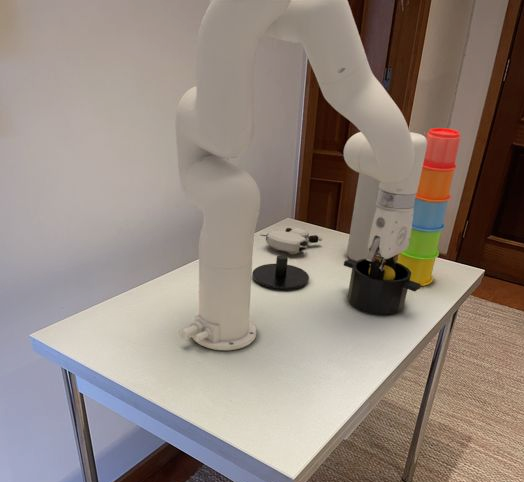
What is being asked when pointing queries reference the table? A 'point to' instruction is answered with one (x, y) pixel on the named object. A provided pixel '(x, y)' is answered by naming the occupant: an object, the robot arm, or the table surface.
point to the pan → (378, 289)
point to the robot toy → (290, 240)
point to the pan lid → (280, 275)
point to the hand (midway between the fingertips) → (380, 281)
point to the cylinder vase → (362, 217)
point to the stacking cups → (431, 204)
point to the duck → (387, 272)
